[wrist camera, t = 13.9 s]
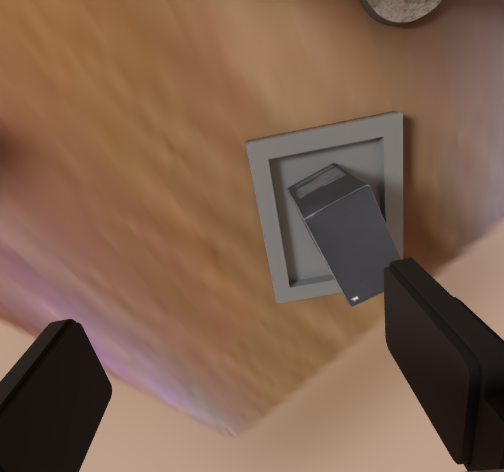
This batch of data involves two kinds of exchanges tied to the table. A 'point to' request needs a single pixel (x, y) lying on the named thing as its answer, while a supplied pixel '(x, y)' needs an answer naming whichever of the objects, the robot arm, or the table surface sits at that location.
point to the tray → (307, 163)
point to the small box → (346, 230)
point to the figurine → (398, 10)
